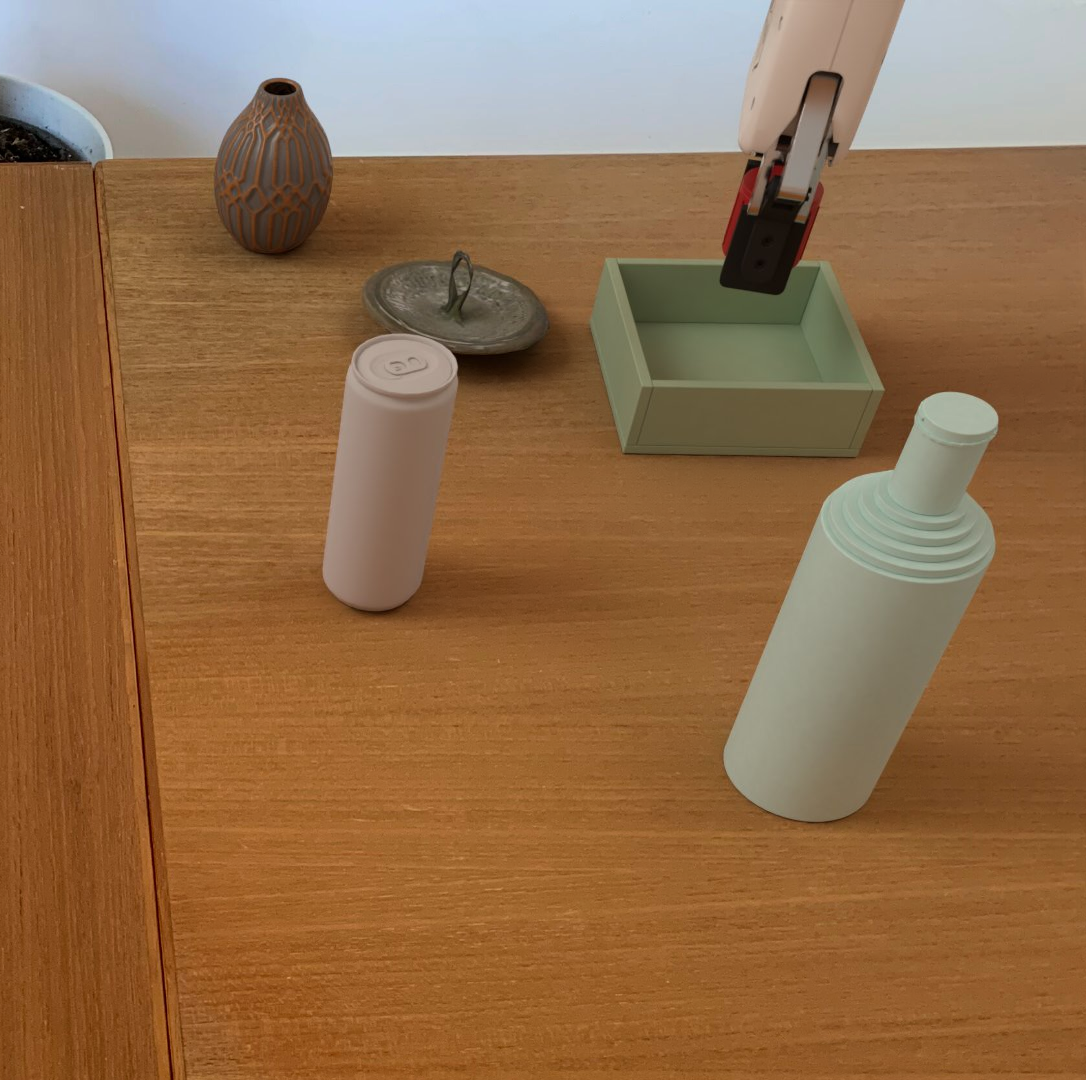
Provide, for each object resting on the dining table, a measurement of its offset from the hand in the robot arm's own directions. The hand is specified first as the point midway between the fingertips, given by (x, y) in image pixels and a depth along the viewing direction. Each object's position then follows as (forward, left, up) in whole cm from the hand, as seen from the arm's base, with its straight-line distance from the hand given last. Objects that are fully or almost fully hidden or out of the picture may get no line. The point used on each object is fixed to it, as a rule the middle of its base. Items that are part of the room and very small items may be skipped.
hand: (754, 261), depth 86 cm
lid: (+14, -5, -7) cm, 16 cm away
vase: (+24, -15, -7) cm, 29 cm away
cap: (0, 0, 0) cm, 1 cm away
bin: (0, 0, -7) cm, 7 cm away
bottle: (+2, +29, -7) cm, 30 cm away
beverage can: (+20, +17, -7) cm, 27 cm away
